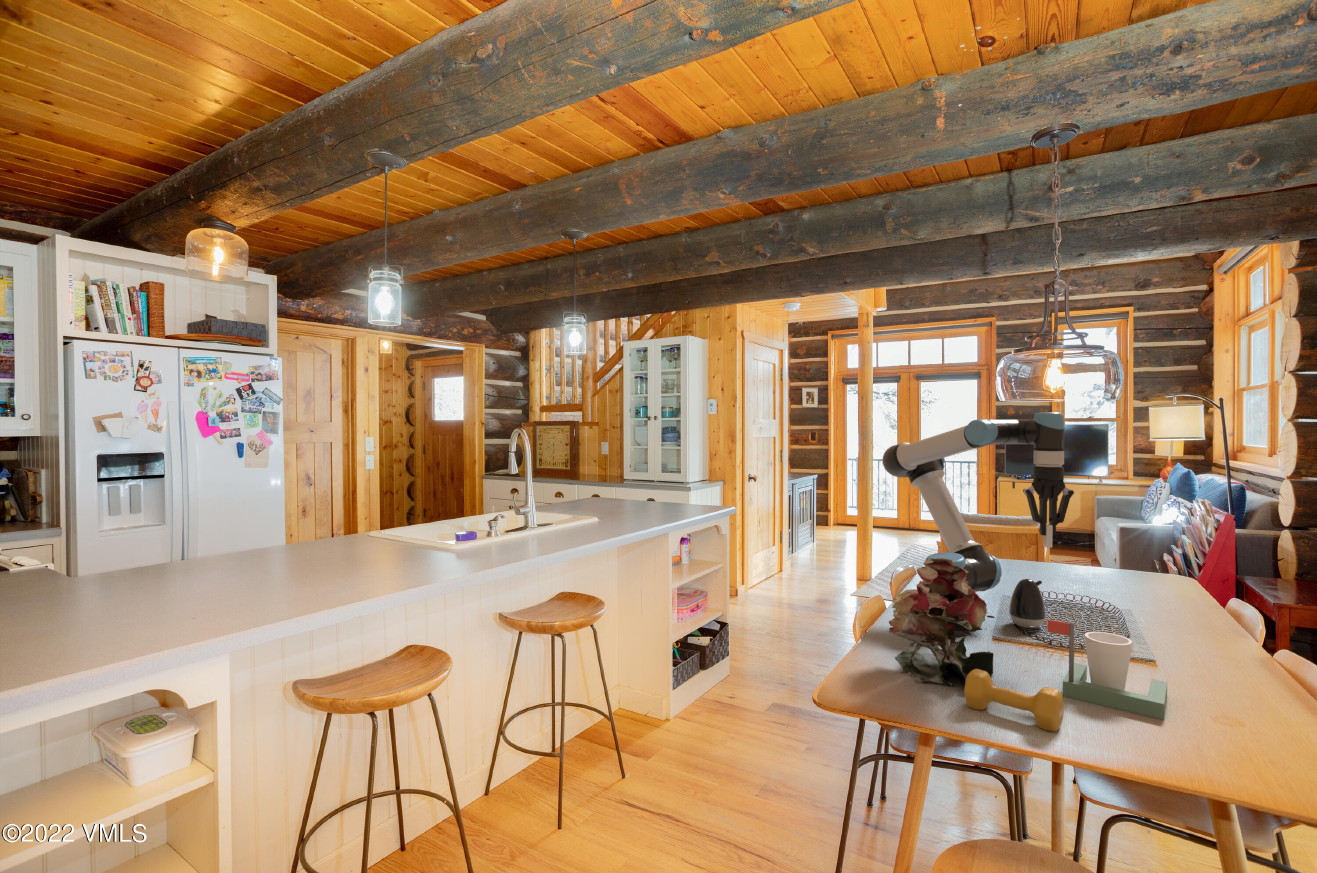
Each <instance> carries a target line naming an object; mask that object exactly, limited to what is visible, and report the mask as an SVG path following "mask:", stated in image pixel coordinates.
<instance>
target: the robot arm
mask: <svg viewBox="0 0 1317 873" xmlns="http://www.w3.org/2000/svg"><path fill="white" fill-rule="evenodd" d="M1065 429H1066V427H1065V416H1064V414H1063V413H1062V412H1060V411H1059V412H1057V411H1056V412H1055V411H1054V412H1053V411H1052V412H1049V411H1048V412H1047V411H1044V412H1036V413H1034V415H1033V418H1032V419H1031V418H1030V419H1027V418H1026V419H1025V418H1024V419H1022V418H1020V419H1014V418H1013V419H1012V418H1006V419H1002V418H1001V419H1000V418H999V419H997V418H996V419H994V418H993V419H991V418H990V419H989V418H980V419H974V420H971V421H969V423H968V424H967V425H964V426H961V427H958V428H955V429H952V430H948V431H945V432H942V433H939V434H936V435H933V436H930V437H927V438H923V439H921V440H920V439H919V440H917V441H914V442H911V443H909V442H906V441H905V442H901V443H898V444H895V445H891V446H889V447H888V448H887V449H886V450H885V451H884V453H883V456H882V466H883V468H884V470H885V471H886V472H887V473H888V474H890V475H891V476H893V477H896V478H908V480H909V482H910V484H911V486H912V487H914V488H916V489H918V490H919V493H920V494H921V496H922V499H923V500H924V503H925V505H926V507H927V508H928V511H929V512H930V514H931V517H932V519H933V521H934V523H935V525H936V527H937V529H938V532H939V534H940V535H941V537H942V539H943V542H944V543H945V546H946V547H947V550H948V551H947V552H936V553H932V554H929V555H928V556H927V557H926V559H925V561H924V562H926V561H927V560H928V559H929V558H932V559H937V558H947V559H951V560H952V561H953V564H954V565H956V566H958V567H959V568H963V569H965V570H967V571H968V572H969V573H968V574H967V575H966V579H965V580H966V581H968V582H969V584H968V586H970V587H971V589H972V590H974V591H975V593H977V592H986V591H988V590H992V589H994V588H995V587H997V585H999V584H1000V581H1001V577H1002V574H1003V572H1002V566H1001V563H1000V561H999V559H998V558H997V557H995V556H994V555H992V553H987V552H986V550H985V548H984V546H983V545H982V544H981V543H979V542H976V541H975V539H974V537H973V535H972V534H971V532H970V530H969V528H968V526H967V524H966V521H965V520H964V518H963V517H962V514H961V513H960V511H959V508H958V507H957V504H956V502H955V500H954V498H953V496H952V495H951V493H950V490H949V488H948V487H947V484H946V483H945V480H944V479H943V478H944V476H945V466H946V465H945V462H946V460H945V458H948V457H952V456H955V455H957V454H961V453H965V452H968V451H972V450H976V449H980V448H983V447H987V446H992V445H993V446H994V445H1033V464H1034V466H1033V467H1032V468H1033V470H1032V471H1033V476H1032V477H1033V481H1032V483H1031V486H1029V487H1028V488H1023V489H1022V491H1023V492H1022V493H1024V495H1025V497H1026V500H1027V503H1028V507H1029V511H1030V515H1031V519H1032V521H1033V522H1036V523H1038V524H1039V535H1041V536H1042V546H1043V547H1044V548H1047V549H1048V548H1049V549H1051V548H1053V537H1055V536H1056V535H1057V526H1058V525H1059V524H1062V523H1064V522H1065V518H1066V514H1067V510H1068V507H1069V503H1070V501H1071V498H1072V497H1073V496H1074V494H1075V491H1074V490H1072V489H1069V488H1068V487H1066V483H1065V482H1064V480H1065V468H1064V467H1063V465H1065V448H1064V447H1065ZM1035 493H1036V494H1037V495H1038V502H1039V504H1038V505H1039V506H1037V502H1036V498H1035V496H1034V495H1035ZM1061 493H1062V496H1061V497H1060V502H1059V506H1058V501H1059V496H1060V495H1061ZM1038 509H1039V510H1038ZM969 633H970V634H972V632H969ZM955 636H956V637H963V636H964V637H965V636H966V635H965V634H963V633H961V632H957V631H955Z"/></svg>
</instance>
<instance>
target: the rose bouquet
mask: <svg viewBox="0 0 1317 873" xmlns="http://www.w3.org/2000/svg"><path fill="white" fill-rule="evenodd" d="M922 564H923V566H921V567H918V568H917V569H916V573H917V575H918V576H919V578H920V579H921V580H919V581H918V583H917V584H916V589H915V588H914V589H912V588H911V589H905V590H904V591H902V592H900V593H899V594H897V595H895V596H894V597H893V599H892V603H893V604H892V605H891V606H892V607H891V609H893V610H892V614H893V615H892V616H893V618H892V619H891V620H888V624H889V625H890V626H891V627H889V628H888V630H889V633H890V634H892V635H895V636H897V637H901V638H903V639H906V640H908V641H910V642H911V643H909V645H908V647H909V648H905V649H902V651H901V652H900V653H898V654H897V655H896V656H895V660H896V661H897V662H898V663H899V664H900V665H901V666H902V671H900V674H902V675H905V674H911V680H913V681H914V682H915V683H918V684H923V683H925V682H931V683H935V684H939V685H943V686H946V687H950V688H954V686H955V685H954V683H951V682H950V681H947V680H946V679H945V678H946V677H947V674H948V672H949V670H950V669H952V670H953V671H954V672H956V673H958V674H960V675H962V676H963V678H964V679H965V681H966V678H967V675H968V674H969V673H970V672H971V671H972V670H974V669H979V670H983V671H986V672H987V673H988V674H989V675H990V677H991V678H992V676H993V674H994V652H991V651H978V652H971V653H969V656H967V648H966V646H965V639H966V638H967V636H968V637H972V638H974V637H975V638H977V635H975V634H972V632H973V633H974V632H978V631H982V630H983V628H982V624H983V623H984V622H985V621H986V617H987V618H990V619H995V618H996V617H995V616H994V615H987V614H989V612H988V609H987V603H986V602H985V600H984V599H982V597H980V595H979V594H978V593H977V592H975V591H974V590H972V589H971V587H970V586H968V584H969V582H968V581H966V580H965V579H966V575H967V574H968V573H969V572H968V571H967V570H965V569H963V568H959V567H958V566H956V565H954V564H953V561H952V560H951V559H947V558H937V559H932V558H929V559H928V560H927V561H926V562H925V561H924V562H923V563H922ZM985 630H986V628H984V631H985ZM955 631H957V632H961V633H963V634H965V636H964V637H962V638H961V639H959V641H956V639H957V636H955ZM969 632H971V633H969ZM973 636H974V637H973ZM997 643H998V644H999V643H1000V641H998V642H997ZM915 644H916V646H915V647H914V645H915ZM913 647H914V648H913ZM921 647H924V648H925V649H926V648H927V649H929V650H930V652H931V653H928V652H925V651H922V650H920V648H921ZM994 676H995V675H994ZM994 676H993V677H994ZM992 683H993V681H992ZM993 685H995V684H994V683H993ZM964 689H965V688H964ZM964 689H963V691H964Z"/></svg>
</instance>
